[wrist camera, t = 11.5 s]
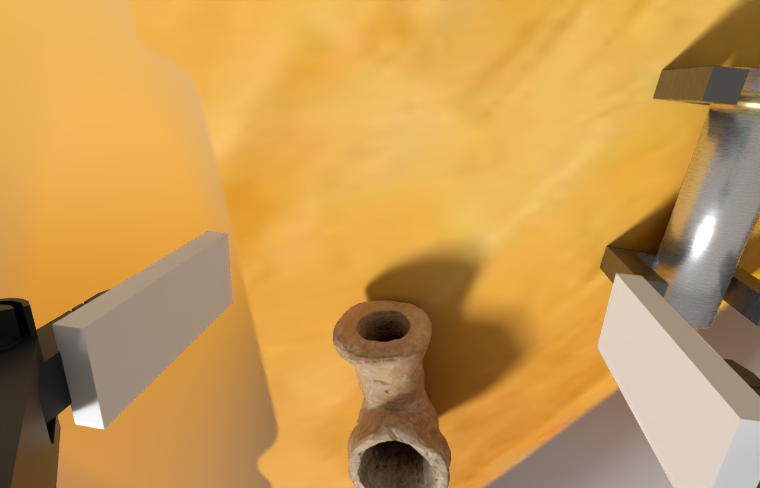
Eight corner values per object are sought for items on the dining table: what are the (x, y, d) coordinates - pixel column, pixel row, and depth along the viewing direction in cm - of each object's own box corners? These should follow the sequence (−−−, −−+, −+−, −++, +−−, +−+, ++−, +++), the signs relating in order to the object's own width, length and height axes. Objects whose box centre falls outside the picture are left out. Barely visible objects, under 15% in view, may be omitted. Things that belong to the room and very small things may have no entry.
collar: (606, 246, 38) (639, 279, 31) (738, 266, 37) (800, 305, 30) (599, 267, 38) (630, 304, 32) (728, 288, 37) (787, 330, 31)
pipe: (433, 289, 42) (427, 347, 32) (457, 430, 46) (458, 516, 37) (341, 300, 43) (310, 358, 34) (373, 434, 48) (354, 517, 39)
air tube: (707, 68, 32) (752, 65, 27) (784, 77, 31) (845, 75, 27) (629, 291, 38) (654, 321, 33) (692, 302, 38) (727, 334, 33)
